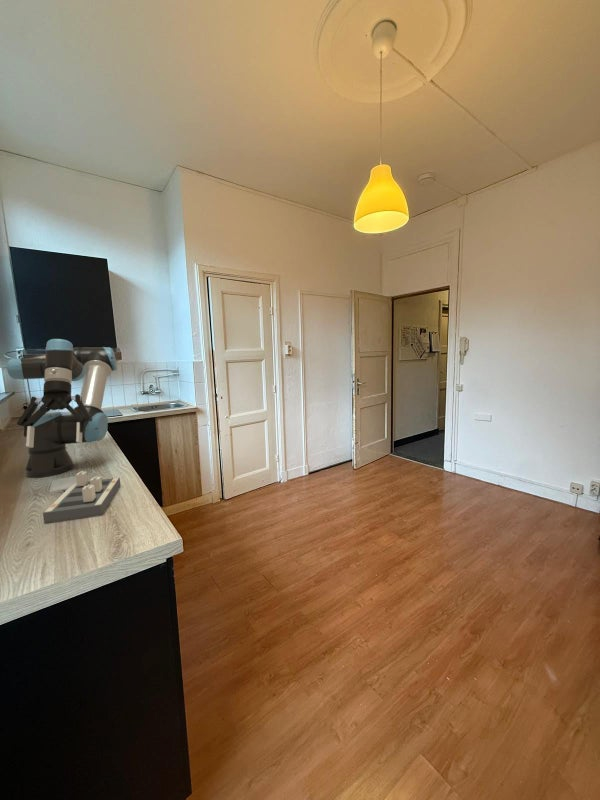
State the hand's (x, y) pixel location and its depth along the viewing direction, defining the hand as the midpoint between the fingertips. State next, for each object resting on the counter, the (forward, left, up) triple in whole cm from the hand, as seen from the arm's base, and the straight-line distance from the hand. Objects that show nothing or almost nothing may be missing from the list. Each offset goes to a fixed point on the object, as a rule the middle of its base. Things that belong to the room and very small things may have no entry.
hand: (54, 444), depth 103 cm
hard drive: (-9, -2, -18) cm, 20 cm away
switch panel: (+9, +10, -17) cm, 22 cm away
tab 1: (+2, +7, -14) cm, 16 cm away
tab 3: (+9, +13, -14) cm, 21 cm away
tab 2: (+16, +13, -14) cm, 25 cm away
